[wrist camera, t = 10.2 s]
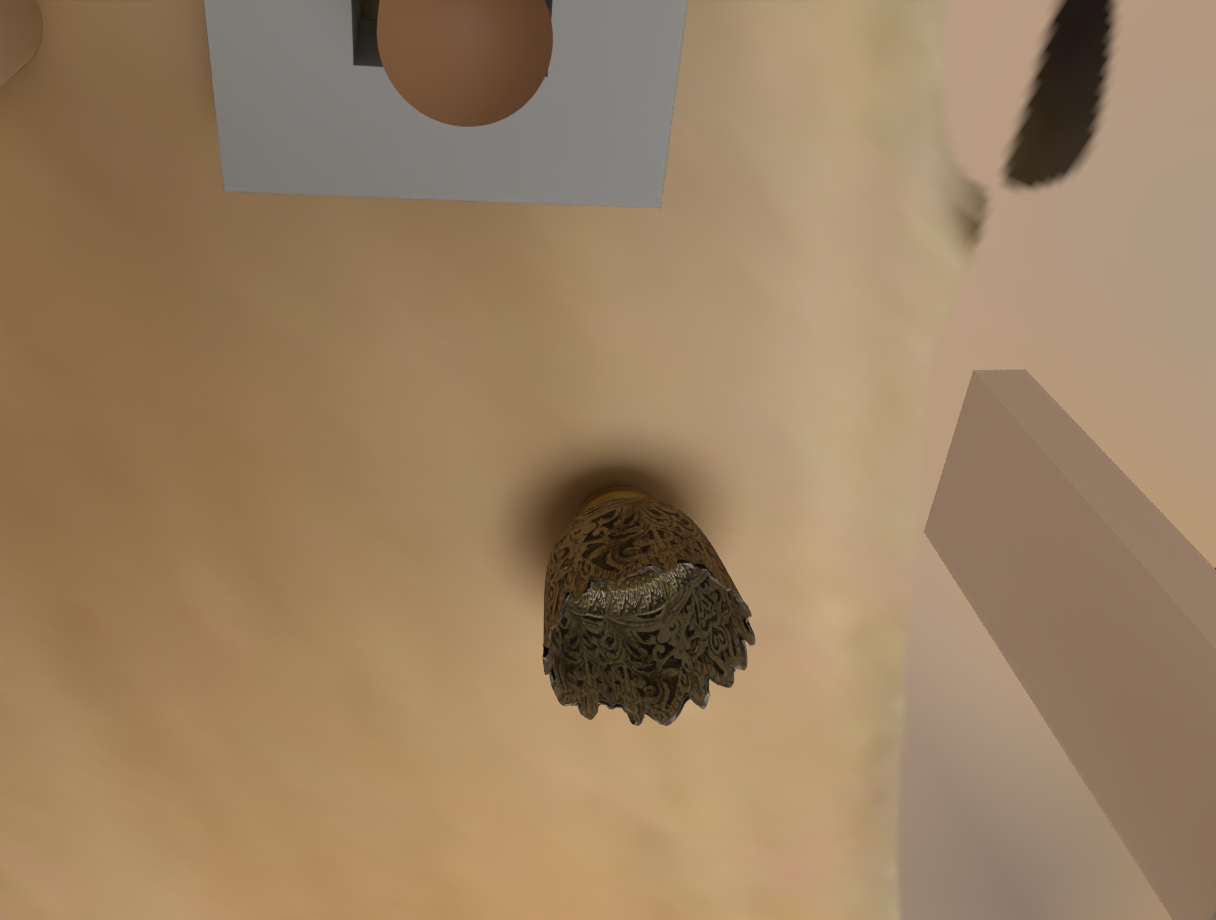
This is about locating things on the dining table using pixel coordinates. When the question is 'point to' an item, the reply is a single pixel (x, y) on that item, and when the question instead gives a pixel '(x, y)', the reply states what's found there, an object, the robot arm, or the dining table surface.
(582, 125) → the socket block
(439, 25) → the walnut peg
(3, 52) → the pale grey cylinder
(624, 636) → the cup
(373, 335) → the dining table surface
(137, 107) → the dining table surface
